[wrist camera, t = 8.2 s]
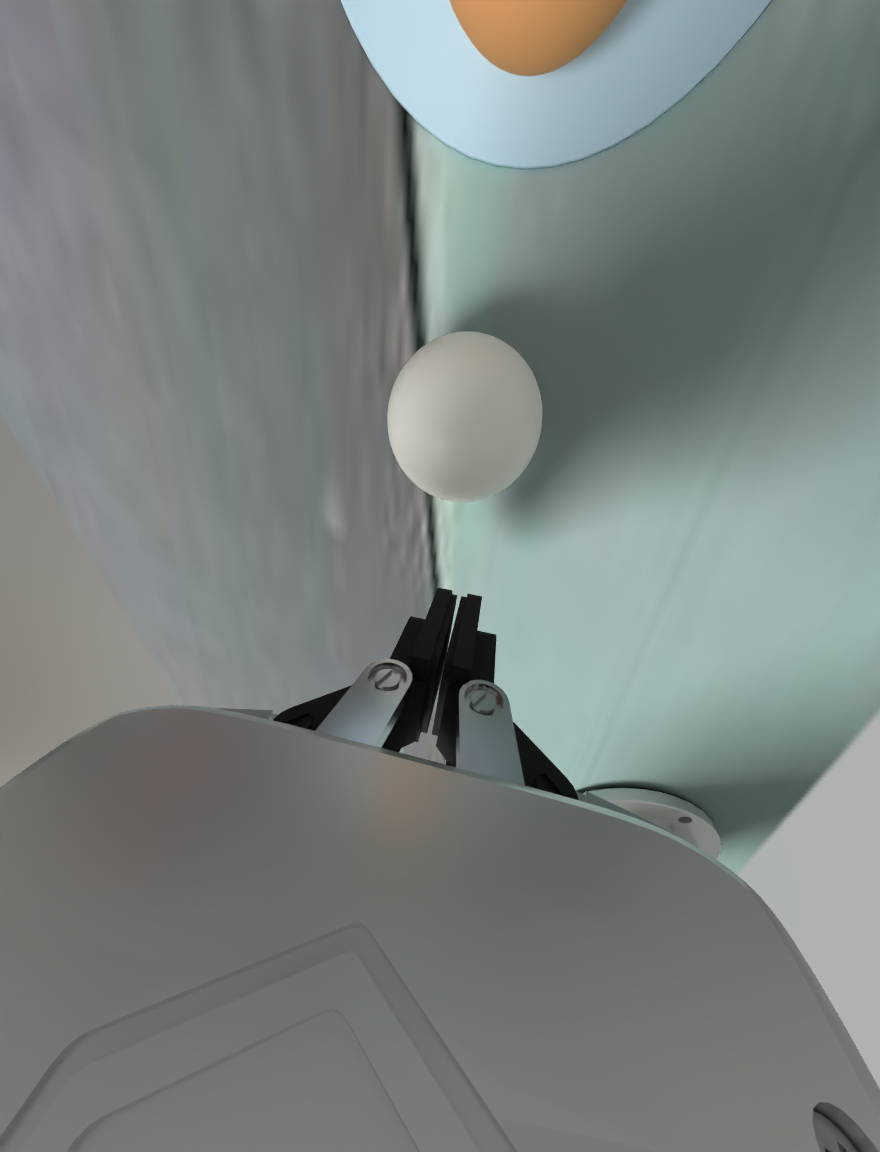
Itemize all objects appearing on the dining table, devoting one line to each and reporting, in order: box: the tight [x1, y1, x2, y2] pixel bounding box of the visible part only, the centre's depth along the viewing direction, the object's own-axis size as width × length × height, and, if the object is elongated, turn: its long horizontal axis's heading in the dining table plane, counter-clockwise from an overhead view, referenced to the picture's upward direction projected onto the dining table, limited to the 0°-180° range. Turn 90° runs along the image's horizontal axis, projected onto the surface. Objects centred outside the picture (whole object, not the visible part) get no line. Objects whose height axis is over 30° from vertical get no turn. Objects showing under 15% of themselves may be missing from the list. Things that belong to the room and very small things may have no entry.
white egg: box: [387, 331, 543, 502], centre depth 12 cm, size 6×6×6 cm
